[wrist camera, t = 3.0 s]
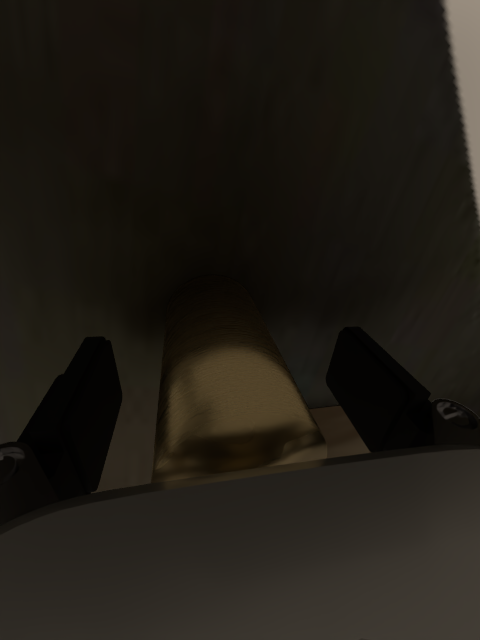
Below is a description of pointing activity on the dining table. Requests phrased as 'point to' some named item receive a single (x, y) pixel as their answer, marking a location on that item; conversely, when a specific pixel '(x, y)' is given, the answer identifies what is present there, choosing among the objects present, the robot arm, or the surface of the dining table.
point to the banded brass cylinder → (226, 389)
